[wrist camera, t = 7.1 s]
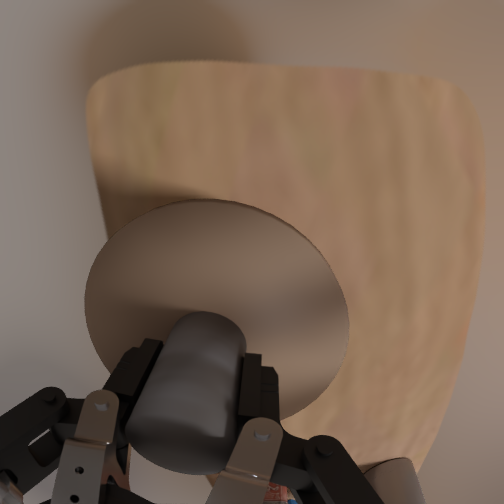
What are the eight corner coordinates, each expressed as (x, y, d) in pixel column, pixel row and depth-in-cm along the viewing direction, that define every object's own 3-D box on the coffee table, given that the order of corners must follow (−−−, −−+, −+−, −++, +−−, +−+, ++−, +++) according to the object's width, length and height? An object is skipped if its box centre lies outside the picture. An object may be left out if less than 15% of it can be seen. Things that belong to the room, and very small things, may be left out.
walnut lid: (381, 358, 15) (426, 459, 8) (196, 437, 17) (176, 523, 11) (246, 136, 11) (220, 116, 5) (55, 290, 14) (-24, 358, 8)
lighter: (236, 475, 37) (230, 528, 27) (230, 465, 36) (223, 521, 26) (288, 471, 36) (290, 526, 26) (285, 461, 35) (287, 519, 25)
